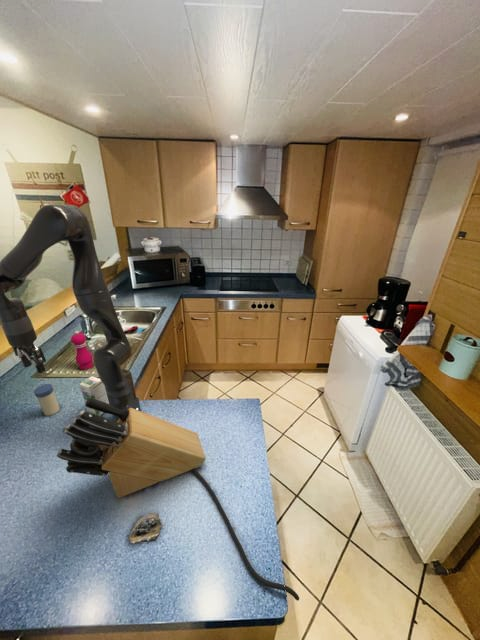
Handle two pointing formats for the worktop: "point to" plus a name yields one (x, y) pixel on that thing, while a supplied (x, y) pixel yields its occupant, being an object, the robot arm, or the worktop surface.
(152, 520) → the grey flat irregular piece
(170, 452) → the knife block
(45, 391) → the lid
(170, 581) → the worktop surface
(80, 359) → the pepper mill
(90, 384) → the syrup box
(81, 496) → the worktop surface
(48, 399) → the jar
